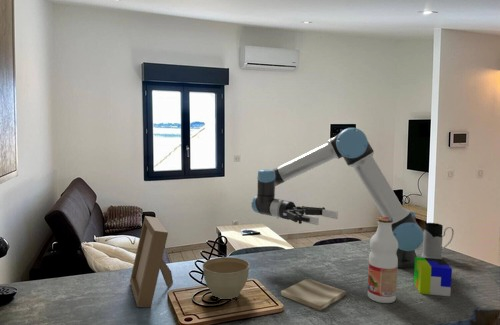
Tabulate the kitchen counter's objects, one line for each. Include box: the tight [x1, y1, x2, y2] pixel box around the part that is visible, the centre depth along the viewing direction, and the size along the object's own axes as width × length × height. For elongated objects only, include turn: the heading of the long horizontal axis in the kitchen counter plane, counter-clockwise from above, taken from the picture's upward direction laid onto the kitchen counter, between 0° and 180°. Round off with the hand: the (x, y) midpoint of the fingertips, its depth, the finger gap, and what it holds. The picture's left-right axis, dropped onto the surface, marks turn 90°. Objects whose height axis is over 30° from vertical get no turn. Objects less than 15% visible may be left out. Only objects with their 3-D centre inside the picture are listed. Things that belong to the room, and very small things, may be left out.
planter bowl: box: [202, 256, 251, 300], centre depth 133 cm, size 16×16×11 cm
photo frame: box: [129, 215, 174, 308], centre depth 133 cm, size 15×22×25 cm
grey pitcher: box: [421, 222, 455, 259], centre depth 176 cm, size 9×14×15 cm, turn 96°
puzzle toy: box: [413, 256, 453, 297], centre depth 140 cm, size 10×10×10 cm
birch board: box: [280, 278, 346, 312], centre depth 134 cm, size 16×16×2 cm
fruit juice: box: [367, 216, 399, 304], centre depth 131 cm, size 9×9×28 cm
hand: (328, 218), depth 145 cm, fingers open, 13 cm apart
